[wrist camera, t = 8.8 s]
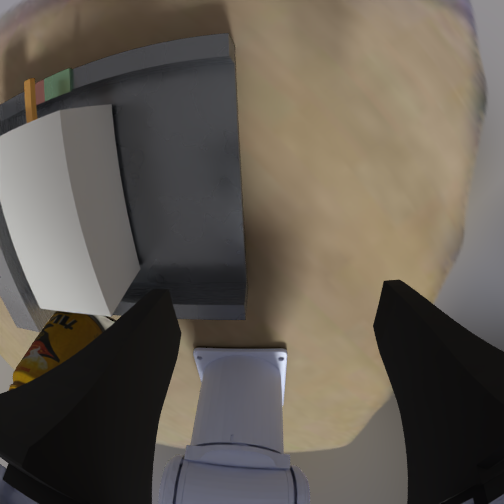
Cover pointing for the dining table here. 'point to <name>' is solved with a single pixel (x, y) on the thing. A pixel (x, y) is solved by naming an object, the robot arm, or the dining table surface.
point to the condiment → (58, 343)
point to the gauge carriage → (68, 208)
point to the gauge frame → (159, 173)
